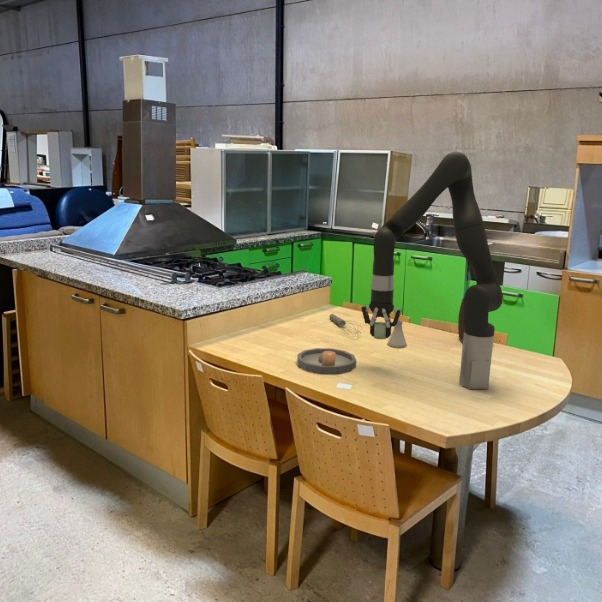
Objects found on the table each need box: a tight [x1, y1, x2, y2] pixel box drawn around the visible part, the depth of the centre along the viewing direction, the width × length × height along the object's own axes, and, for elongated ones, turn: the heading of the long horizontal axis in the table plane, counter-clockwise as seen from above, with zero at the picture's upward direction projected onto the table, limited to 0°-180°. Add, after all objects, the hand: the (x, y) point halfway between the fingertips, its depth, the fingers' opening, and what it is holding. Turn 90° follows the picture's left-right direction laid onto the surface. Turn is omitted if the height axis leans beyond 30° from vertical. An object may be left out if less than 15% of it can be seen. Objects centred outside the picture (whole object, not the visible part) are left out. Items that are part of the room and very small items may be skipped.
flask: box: [387, 319, 408, 349], centre depth 235 cm, size 7×7×10 cm
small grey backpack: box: [457, 296, 464, 343], centre depth 240 cm, size 15×8×20 cm, turn 5°
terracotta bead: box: [322, 351, 335, 366], centre depth 206 cm, size 4×4×5 cm
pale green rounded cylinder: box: [373, 321, 387, 340], centre depth 208 cm, size 4×4×5 cm
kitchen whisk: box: [328, 313, 363, 336], centre depth 257 cm, size 6×34×6 cm, turn 16°
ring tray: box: [296, 347, 357, 375], centre depth 212 cm, size 20×20×2 cm
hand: (380, 336), depth 208 cm, fingers closed on pale green rounded cylinder, 4 cm apart
